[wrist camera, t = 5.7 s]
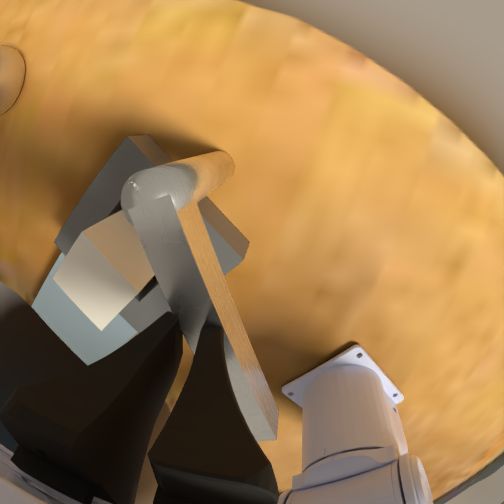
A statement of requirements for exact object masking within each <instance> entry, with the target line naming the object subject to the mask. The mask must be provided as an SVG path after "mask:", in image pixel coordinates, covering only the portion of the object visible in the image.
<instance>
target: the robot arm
mask: <svg viewBox="0 0 504 504" xmlns="http://www.w3.org/2000/svg"><path fill="white" fill-rule="evenodd" d="M359 353H361V354H360V355H357V354H359ZM182 354H183V333H182V331H181V329H180V327H179V318H177V317H174V315H173V313H172V312H169V311H167V312H166V313H164V314H163V315H162V316H160V317H159V318H158V319H157V320H156V321H154V322H153V323H152V324H151V325H149V326H148V327H147V328H146V329H144V330H143V331H142V332H140V333H139V334H138V335H136V336H135V337H134V338H133V339H131V340H130V341H128V342H127V343H125V344H124V345H122V346H121V347H120V348H118V349H117V350H115V351H114V352H112V353H110V354H109V355H107V356H105V357H104V358H102V359H100V360H98V361H96V362H94V363H92V364H90V365H88V366H85V367H83V368H81V369H79V370H76V371H74V372H72V373H69V374H66V375H63V376H60V377H57V378H54V379H51V380H47V381H43V382H39V383H34V384H30V385H25V386H19V387H17V388H16V389H15V391H14V392H13V393H12V395H11V396H10V397H9V399H8V400H7V401H6V403H5V404H4V405H3V407H2V408H1V410H0V419H1V421H2V423H3V424H4V426H5V427H6V429H7V430H8V431H9V433H10V434H11V435H12V437H13V438H14V439H15V440H16V442H17V443H18V444H19V446H18V447H17V449H16V451H15V452H14V453H12V452H11V451H9V450H8V449H6V448H5V447H4V446H2V445H1V444H0V504H54V503H53V502H52V501H51V500H49V499H48V497H46V495H44V494H43V493H41V492H40V491H38V490H37V489H35V488H34V487H33V486H35V487H36V488H38V489H40V490H41V491H43V492H45V493H47V494H49V495H50V496H52V497H54V498H56V499H58V500H60V501H61V502H63V503H65V504H134V502H135V497H136V492H137V487H138V483H139V478H140V474H141V470H142V466H143V462H144V458H145V455H146V451H147V447H148V444H149V440H150V437H151V434H152V431H153V427H154V424H155V422H156V419H157V416H158V414H159V412H160V410H161V408H162V406H163V403H164V401H165V399H166V397H167V394H168V392H169V390H170V388H171V386H172V383H173V381H174V379H175V376H176V374H177V371H178V368H179V364H180V361H181V357H182ZM290 392H292V393H290ZM282 393H283V394H285V395H286V396H287V397H288V398H290V399H291V400H292V401H293V402H295V403H296V404H297V405H298V406H300V407H301V408H302V473H301V474H299V475H296V476H293V480H292V489H288V490H286V491H284V492H283V493H282V494H281V495H280V496H279V493H278V486H277V482H276V478H275V475H274V472H273V469H272V465H271V463H270V461H269V460H268V458H267V457H266V455H265V454H264V452H263V451H262V449H261V448H260V446H259V445H258V443H257V441H256V440H255V438H254V436H253V434H252V433H251V431H250V429H249V427H248V425H247V423H246V421H245V418H244V416H243V414H242V412H241V410H240V407H239V405H238V402H237V400H236V397H235V394H234V391H233V388H232V385H231V381H230V378H229V374H228V369H227V364H226V358H225V352H224V328H223V327H222V326H218V325H212V324H207V323H204V324H203V326H202V328H201V331H200V335H199V339H198V343H197V347H196V351H195V355H194V359H193V363H192V366H191V369H190V373H189V375H188V378H187V380H186V382H185V384H184V387H183V389H182V391H181V393H180V396H179V398H178V400H177V402H176V404H175V406H174V408H173V410H172V412H171V414H170V416H169V418H168V420H167V422H166V424H165V426H164V428H163V429H162V431H161V433H160V434H159V436H158V438H157V439H156V441H155V443H154V444H153V446H152V448H151V449H150V451H149V452H148V457H149V460H150V463H151V466H152V469H153V472H154V475H155V478H156V480H157V483H158V488H157V491H156V494H155V497H154V500H153V504H433V500H432V495H431V491H430V487H429V484H428V480H427V477H426V474H425V471H424V468H423V466H422V463H421V461H420V459H419V458H418V457H417V456H414V455H411V454H410V453H408V447H407V443H406V439H405V435H404V432H403V428H402V424H401V421H400V417H399V413H398V410H397V407H396V404H398V403H400V402H401V401H403V399H404V396H403V394H402V393H401V392H400V391H399V389H398V388H397V387H396V386H395V385H394V384H393V382H392V381H391V380H390V379H389V378H388V377H387V375H386V374H385V373H384V372H383V371H382V370H381V369H380V367H379V366H378V365H377V364H376V363H375V362H374V360H373V359H372V358H371V357H370V356H369V355H368V354H367V352H366V351H365V350H364V349H363V348H362V347H361V346H360V345H353V346H352V347H350V348H348V349H347V350H345V351H344V352H342V353H340V354H339V355H337V356H335V357H334V358H332V359H330V360H329V361H327V362H325V363H324V364H322V365H320V366H319V367H317V368H315V369H313V370H312V371H310V372H308V373H306V374H304V375H303V376H301V377H299V378H297V379H295V380H294V381H292V382H290V383H288V384H286V385H284V386H283V387H282ZM29 483H30V484H32V485H33V486H31V485H30V484H29Z"/></svg>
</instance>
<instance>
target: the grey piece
mask: <svg viewBox="0 0 504 504" xmlns="http://www.w3.org/2000/svg"><path fill="white" fill-rule="evenodd" d="M234 169H235V165H234V161H233V159H232V157H231V156H230V155H229V154H227V153H225V152H222V151H215V152H211V153H207V154H202V155H198V156H194V157H190V158H186V159H182V160H178V161H175V162H171V163H167V164H163V165H160V166H156V167H153V168H149V169H146V170H142V171H139V172H137V173H135V174H133V175H132V176H130V177H129V178H128V180H127V181H126V182H125V184H124V186H123V188H122V192H121V206H122V210H123V213H124V215H125V217H126V218H127V220H128V221H129V222H130V223H131V224H132V225H133V226H134V227H135V229H136V232H137V234H138V237H139V239H140V242H141V244H142V246H143V249H144V251H145V254H146V256H147V258H148V260H149V263H150V265H151V267H152V270H153V272H154V274H155V276H156V279H157V281H158V283H159V285H160V287H161V289H162V292H163V294H164V296H165V298H166V300H167V302H168V304H169V306H170V309H171V311H172V313H173V315H174V317H177V318H179V327H180V329H181V331H182V333H183V335H184V337H185V339H186V341H187V342H188V344H189V346H190V348H191V350H192V352H193V354H194V355H195V351H196V347H197V343H198V339H199V335H200V331H201V328H202V326H203V324H204V323H207V324H212V325H218V326H222V327H223V328H224V352H225V358H226V364H227V369H228V374H229V378H230V381H231V385H232V388H233V391H234V394H235V397H236V400H237V402H238V405H239V407H240V410H241V412H242V414H243V416H244V418H245V421H246V423H247V425H248V427H249V429H250V431H251V433H252V434H253V436H254V438H255V440H256V441H257V442H258V441H269V440H277V429H278V415H279V409H278V407H277V405H276V402H275V400H274V398H273V395H272V393H271V391H270V388H269V386H268V384H267V381H266V379H265V377H264V374H263V372H262V369H261V367H260V365H259V362H258V360H257V357H256V355H255V353H254V350H253V348H252V345H251V343H250V340H249V338H248V336H247V333H246V331H245V328H244V326H243V323H242V321H241V318H240V316H239V313H238V311H237V308H236V306H235V303H234V300H233V298H232V295H231V293H230V290H229V288H228V285H227V283H226V280H225V277H224V275H223V272H222V270H221V267H220V264H219V262H218V259H217V256H216V254H215V251H214V249H213V246H212V243H211V241H210V238H209V235H208V232H207V230H206V227H205V224H204V222H203V219H202V216H201V213H200V211H199V208H198V205H197V203H198V202H199V201H200V200H202V199H203V198H204V197H206V196H207V195H208V194H210V193H211V192H212V191H213V190H215V189H216V188H217V187H219V186H220V185H221V184H223V183H224V182H225V181H227V180H228V179H229V178H230V177H231V176H232V175H233V173H234Z"/></svg>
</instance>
